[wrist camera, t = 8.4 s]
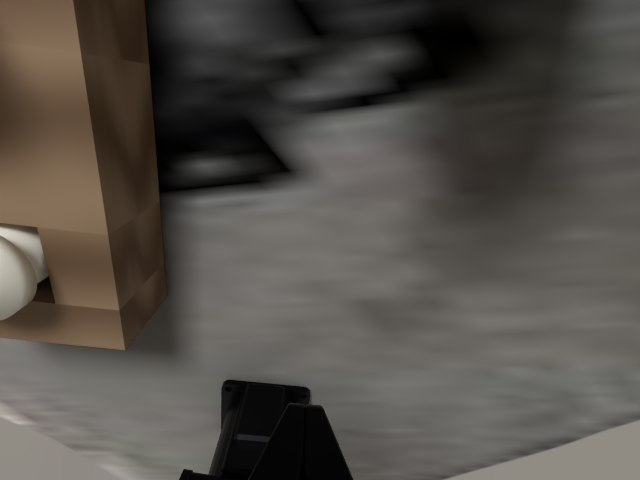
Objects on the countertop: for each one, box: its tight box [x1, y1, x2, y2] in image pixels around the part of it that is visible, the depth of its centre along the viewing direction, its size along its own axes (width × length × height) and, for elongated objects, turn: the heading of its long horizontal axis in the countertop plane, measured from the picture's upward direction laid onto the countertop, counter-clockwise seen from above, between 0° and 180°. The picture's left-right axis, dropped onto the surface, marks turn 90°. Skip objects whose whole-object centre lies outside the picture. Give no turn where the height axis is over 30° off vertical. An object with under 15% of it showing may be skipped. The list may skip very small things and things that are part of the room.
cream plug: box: [0, 223, 49, 320], centre depth 16 cm, size 4×4×6 cm
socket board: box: [0, 0, 167, 350], centre depth 15 cm, size 20×10×5 cm, turn 173°
